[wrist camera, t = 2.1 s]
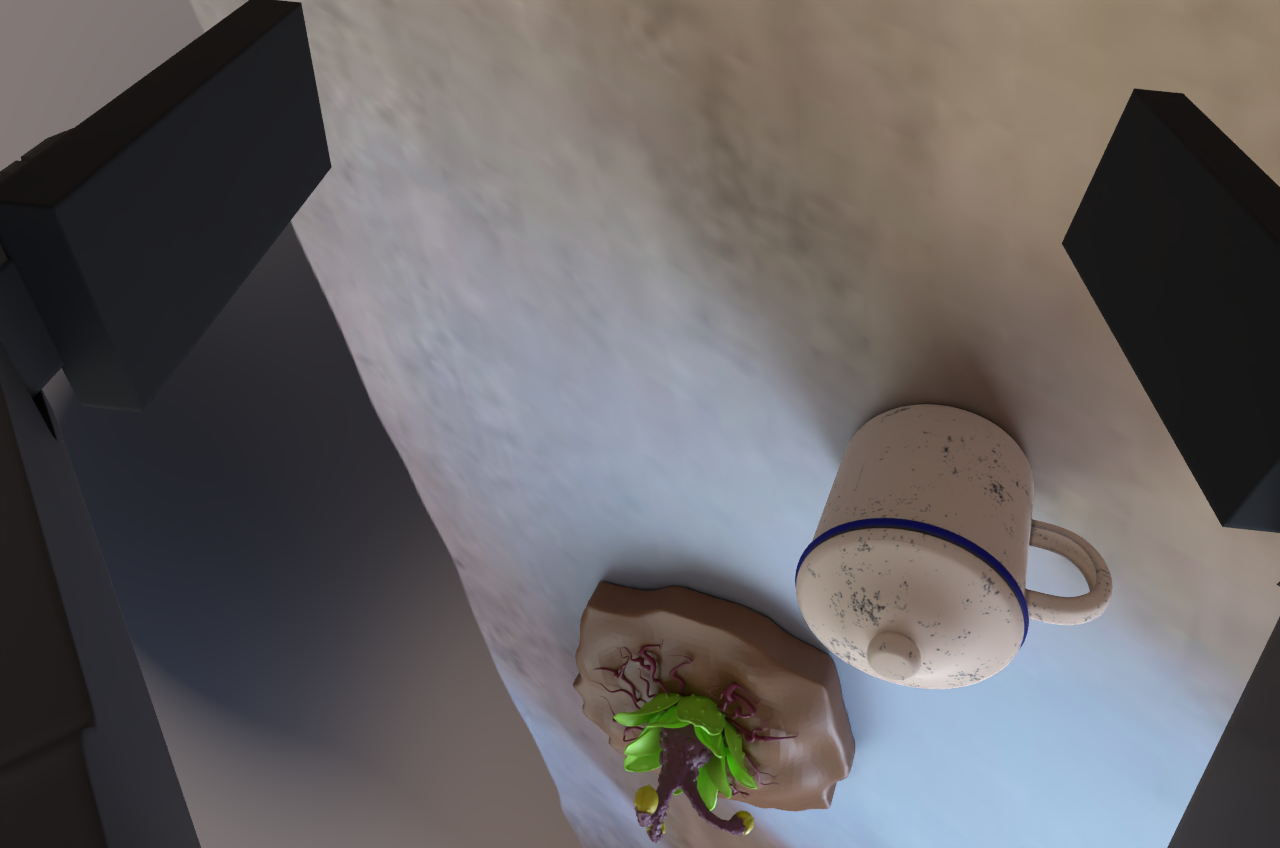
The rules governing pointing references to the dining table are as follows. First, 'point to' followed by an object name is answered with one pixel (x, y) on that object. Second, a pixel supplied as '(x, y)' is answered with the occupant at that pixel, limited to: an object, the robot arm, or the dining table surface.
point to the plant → (711, 704)
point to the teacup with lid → (935, 552)
